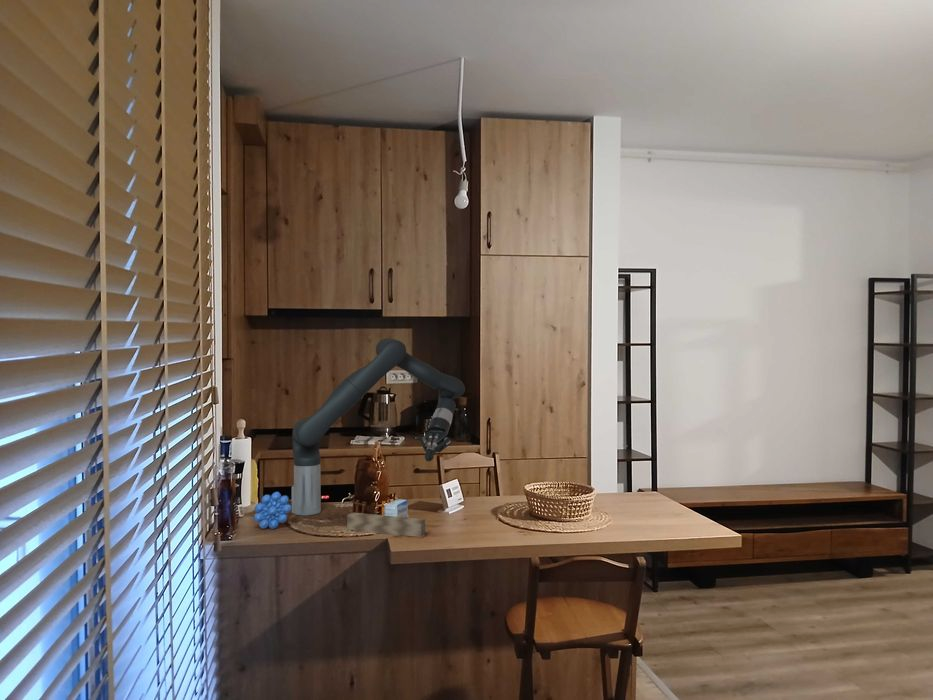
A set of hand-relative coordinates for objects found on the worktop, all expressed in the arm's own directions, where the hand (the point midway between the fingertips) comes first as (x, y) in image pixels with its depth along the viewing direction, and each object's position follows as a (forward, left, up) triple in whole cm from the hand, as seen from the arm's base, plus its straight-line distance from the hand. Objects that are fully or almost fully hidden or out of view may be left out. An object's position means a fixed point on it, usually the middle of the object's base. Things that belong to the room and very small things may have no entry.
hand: (428, 460), depth 237 cm
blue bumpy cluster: (-37, -40, -18) cm, 58 cm away
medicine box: (+1, -27, -18) cm, 33 cm away
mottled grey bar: (0, -33, -18) cm, 37 cm away
